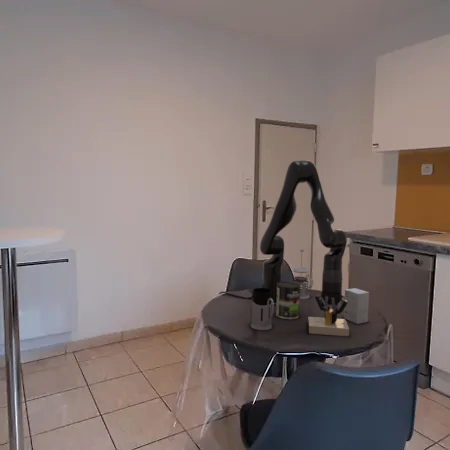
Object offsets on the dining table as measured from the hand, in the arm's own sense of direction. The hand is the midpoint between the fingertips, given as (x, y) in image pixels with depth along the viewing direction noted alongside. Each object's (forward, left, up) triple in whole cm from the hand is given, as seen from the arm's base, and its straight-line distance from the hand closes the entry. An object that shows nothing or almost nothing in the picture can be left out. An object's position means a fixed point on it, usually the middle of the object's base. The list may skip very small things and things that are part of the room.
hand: (330, 321), depth 152 cm
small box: (+12, +14, -3) cm, 19 cm away
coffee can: (-17, +14, -3) cm, 22 cm away
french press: (-10, +46, -3) cm, 47 cm away
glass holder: (-26, -4, -3) cm, 27 cm away
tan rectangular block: (0, 0, 0) cm, 0 cm away
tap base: (-1, 0, -3) cm, 3 cm away
